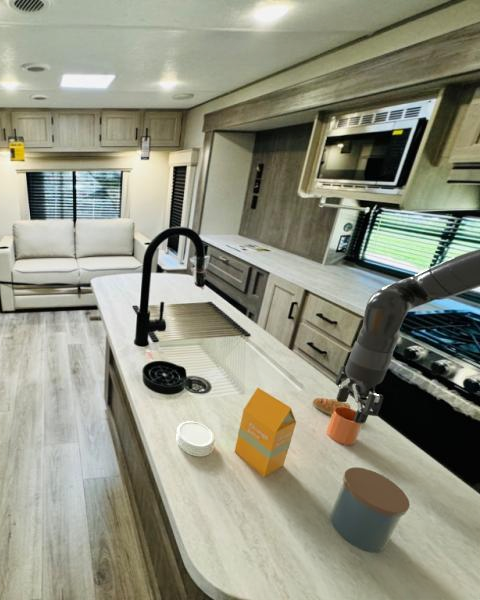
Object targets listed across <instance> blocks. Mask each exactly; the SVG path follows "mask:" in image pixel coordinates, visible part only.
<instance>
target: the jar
mask: <svg viewBox="0 0 480 600" xmlns="http://www.w3.org/2000/svg"><path fill="white" fill-rule="evenodd" d="M410 505H411V504H410V500H409V498H408V496H407V495H406V493H405V492H404V491H403V490H402V489H401V487H399V486H398V485H397V484H396V483H395V482H393V481H392V480H391V479H389V478H388V477H386V476H384V475H382V474H380V473H378V472H376V471H373V470H371V469H368V468H364V467H358V466H357V467H349V468H348V469H346V470H345V471H344V473H343V476H342V484H341V487H340V490H339V492H338V494H337V496H336V498H335V502H334V504H333V505H332V508H331V511H330V513H329V514H330V515H329V517H330V522H331V524H332V526H333V528H334V529H335V531H336V532H337V533H338V534H339V535H340V536H341V537H342V539H344V540H345V541H346V542H348V543H349V544H351V545H352V546H354V547H356V548H358V549H360V550H362V551H364V552H368V553H374V554H375V553H380V552H383V551H384V550H385V548H386V546H387V545H388V543H389V541H390V539H391V537H392V536H393V534H394V531H395V529H396V528H397V526H398V524H399V522H400V520H401V518H402V517H403V516H405V515H406V514H407V512H408V511H409V509H410Z"/></svg>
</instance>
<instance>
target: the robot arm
mask: <svg viewBox="0 0 480 600" xmlns="http://www.w3.org/2000/svg"><path fill="white" fill-rule="evenodd" d="M478 288H480V248H479V249H475V250H472V251H469V252H466V253H462V254H460V255H457V256H454V257H452V258H450V259H447V260H445V261H443V262H441V263H439V264H436V265H434V266H431V267H429V268H427V269H424V270H423V271H421V272H419V273H418V274H415V275H411V276H409V277H407V278H403V279H400V280H398V281H396V282H393V283H391V284H388V285H386V286H384V287H381V288H380V289H378V290H377V291H375V292H374V293H373V294H372V295H371V296H370V297H369V299H368V301H367V303H366V306H365V310H364V315H363V321H362V326H361V328H360V331H359V333H358V335H357V338H356V341H355V343H354V345H353V347H352V349H351V351H350V355H349V357H348V360H347V362H346V366H345V365H341V367H340V369H339V371H338V374H337V377H336V379H335V384H338V389H339V390H338V393H337V395H336V400H337V401H338V402H343V403H347V401H348V398H349V395H350V393H352V394H353V397H354V401H355V403H357V410H356V414H355V417H354V419H353V420H354V421H355V422H356V423H361V424H362V425H363V424H366V422H367V419H368V418H369V416H372V417H378V415H379V412H380V409H381V407H382V404H383V401H384V395H382V394H377V392H376V390H375V389H376V386H377V385H380V384H382V383H383V381H384V379H385V376H386V374H387V371H388V370H389V367H390V364H391V362H392V359H393V355H394V351H395V348H396V347H397V345H398V341H399V339H400V335H401V332H400V329H401V328H402V327H401V326H402V324H403V322H404V320H405V318H406V316H407V314H408V312H410V310H412V309H415V308H418V307H420V306H423V305H425V304H428V303H431V302H433V301H441V300H445V299H449V298H452V297H455V296H458V295H461V294H464V293H466V292H469V291H471V290H475V289H478ZM361 398H363V399H361ZM364 398H366V399H364ZM363 404H364V405H363Z"/></svg>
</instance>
